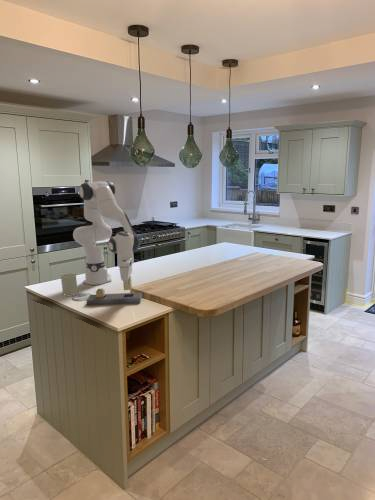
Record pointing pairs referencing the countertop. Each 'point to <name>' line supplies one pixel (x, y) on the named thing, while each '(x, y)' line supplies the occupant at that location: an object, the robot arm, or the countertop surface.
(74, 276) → the glass tumbler
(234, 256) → the countertop surface
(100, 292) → the tan square peg
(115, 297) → the grey peg hole board
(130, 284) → the wooden post chunk
